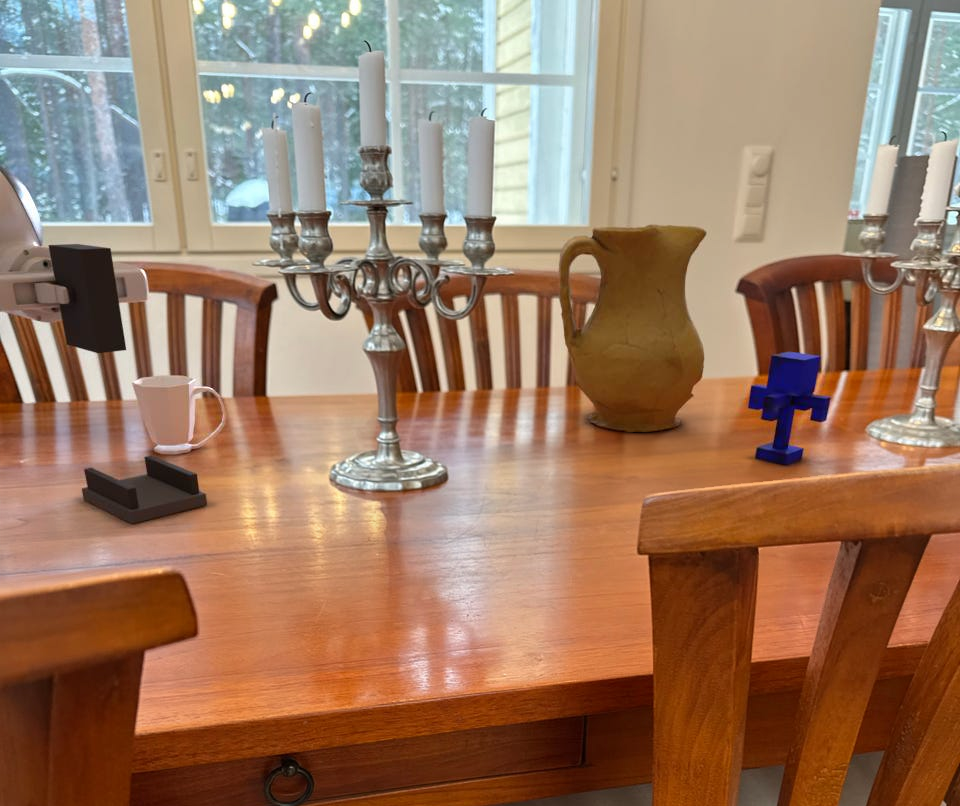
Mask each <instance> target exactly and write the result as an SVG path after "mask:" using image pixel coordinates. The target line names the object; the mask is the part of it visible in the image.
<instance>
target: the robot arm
mask: <svg viewBox="0 0 960 806" xmlns="http://www.w3.org/2000/svg"><path fill="white" fill-rule="evenodd" d="M43 234H44V232H43V225H42V221H41V217H40V215H39V211H38V208H37V207H36V204H35V202H34V200H33V198H32V196H31V194H30V192H29V190H28V189H27V187H26V185H24V184H23V182H22V181H21V180H20V179H19V178H18V177H17V176H16V175H14V174H13V173H12V172H11V171H10V170H8V169H7V168H5V167H4V166H2V165H1V164H0V312H1V313H4V314H5V313H6V314H9V315H14V316H18V317H22V318H25V319H29V320H33V321H36V322H40V323H47V324H49V323H50V324H51V323H57V322H60V321H62V316H61V310H60V303H61V304H69V303H76V301H77V300H76V296H75V289H74V288H73V287H72V286H59V285H56V283H55V281H56V280H55V277H54V273H53V267H52V262H51V256H50V251H49V246H48V247H47V246H43V243H44V235H43ZM112 261H113V267H114V274H115V280H116V286H117V293H118V299H119V304H127V303H142V302H146V301H148V299H149V297H150V289H149V288H150V287H149V281H148V276H147V273H146V272H145V270H144V269H142V268H141V267H137V266H134V265H130V264H128V263H124V262H118V261H114V260H112Z"/></svg>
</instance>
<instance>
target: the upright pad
mask: <svg viewBox="0 0 960 806" xmlns="http://www.w3.org/2000/svg"><path fill="white" fill-rule="evenodd" d="M48 248H49V251H50V256H51V262H52V267H53V273H54V277H55V280H56V281H55V283H56V285H59V286H72V287H73V288H74V289H75V296H76V300H77V301H76V303H69V304H61V303H60V310H61V316H62V320H61V321H62V326H63V332H64V338H65V344H66V345H67V346H71V347H74V348H77V349H81V350H84V351H88V352H92V353H95V354H104V353H115V352H122V351H127V346H126V345H127V344H126V339H125V332H124V326H123V319H122V312H121V306H120V303H119V299H118V293H117V286H116V280H115V274H114V267H113V261H114V260H113V256H112V255H113V254H112V249H111V248H110V247H106V246H105V247H103V246H98V245H97V246H96V245H89V244H81V243H71V244H70V243H69V244H68V243H67V244H65V243H64V244H48Z"/></svg>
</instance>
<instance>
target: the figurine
mask: <svg viewBox="0 0 960 806" xmlns="http://www.w3.org/2000/svg"><path fill="white" fill-rule="evenodd" d="M820 363H821V355H816V354H815V355H813V354H808V353H800V352H793V351H785V352H781V353H775V354H771V357H770V362H769V369H768V375H767V381H766V385H763V384H759V383H758V384H753V385H751V386H750V392H749V398H748V404H747V409H749V410H755V411H760V410H761V415H760V416H761V417H760V420H762V421H766V422H773V421H776V425H775V430H774V438H773V441H771V442H768V443H765V444H762V445H760V446H756V450H755V456H754V459H756V460H761V461H765V462H769V463H773V464H778V465H782V466H787V465H790V464H793V463H796V462H798V461H800V460H802V459H803V454H804V449H805V448H804V447H800V446H797V445H791V444H790V439H791V433H792V429H793V422H794V417H795V412H796V410H797V411H802V412H807V411H810V410H811V411H810V417H809V421H811V422H816V423H824V422H826V421H827V419H828V414H829V410H830V409H829V408H830V403H831V398H832V396H828V395H827V396H826V395H821V394H814V392H815V390H816V384H817V379H818V375H819V369H820Z"/></svg>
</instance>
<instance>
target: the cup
mask: <svg viewBox="0 0 960 806" xmlns="http://www.w3.org/2000/svg"><path fill="white" fill-rule="evenodd" d="M196 382H197V380H196V379H195V378H192V377H189V376H185V375H169V374H168V375H167V374H165V375H164V374H161V375H160V374H159V375H154V376H153V375H152V376H146V377H145V376H144V377H139V378H138V379H137V380H135V381H133V382H132V383H131V384H132V388H133V391H134V395H135V397H136V400H137V404H138V406H139V410H140V413H141V416H142V420H143V423H144V426H145V428H146V431H147V433H148V434H149V438H150V439H151V442H152V443H154V444H156V446H154V448H153V452H155V453H157V454H159V455H181V454H185V453H189V452H191V450H195V449H199V448H202V447H203V446H205V445H206V444H208V443H209V442H210V441H212V440H213V439H214V438H215V437H216V436H217V435H218V434H220V432H221V431H222V430H223V428H224V427H225V425H226V421H227V412H226V407H225V404H224V402H223V399H222V396H220V394H219V393H218V392H216V390H215V389H214V388H211V387H209V386H200V385H199V386H197V385H196ZM205 392H209V393H212V394H213V395H214V396H215V397H216V398H217V399H218V402H219V404H220V407H221V411H222V418H221V422H220V424H219V425H218V426H217V428H215V430H214V431H212V432H211V433H210V434H209V435H208V436H207V437H205V439H203V440H201V441H199V442H198V443H193V444H191V443H190V441H192V440H193V436H194V430H195V423H196V395H198V394H200V393H205Z"/></svg>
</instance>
